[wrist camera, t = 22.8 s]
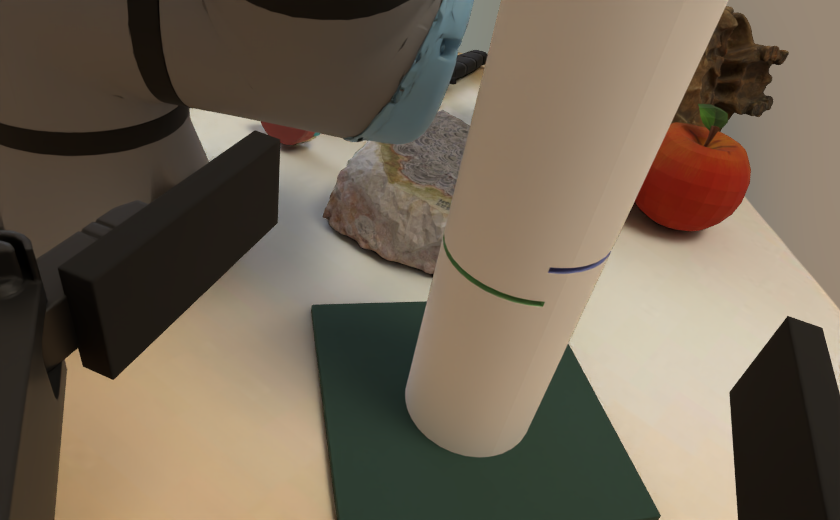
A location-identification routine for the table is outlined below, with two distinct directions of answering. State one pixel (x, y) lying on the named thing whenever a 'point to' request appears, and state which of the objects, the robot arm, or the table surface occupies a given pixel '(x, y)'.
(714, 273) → the table surface
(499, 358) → the cylindrical container
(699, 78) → the skull
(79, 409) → the table surface
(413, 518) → the mat
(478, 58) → the knife
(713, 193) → the fruit
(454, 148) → the geological specimen
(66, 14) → the robot arm
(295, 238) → the table surface
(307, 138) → the dentures
